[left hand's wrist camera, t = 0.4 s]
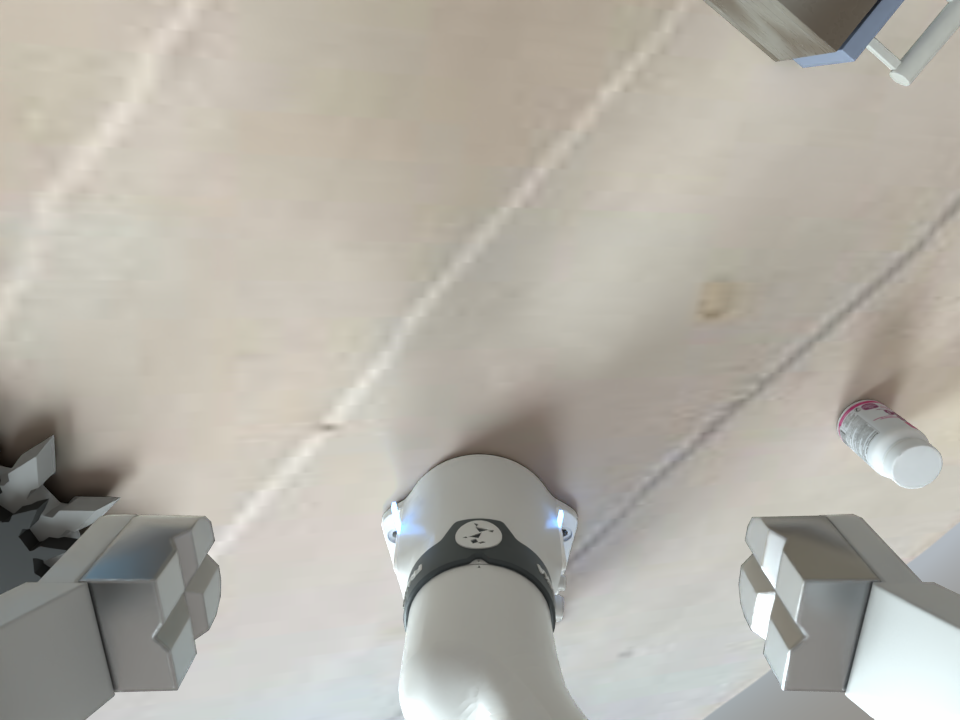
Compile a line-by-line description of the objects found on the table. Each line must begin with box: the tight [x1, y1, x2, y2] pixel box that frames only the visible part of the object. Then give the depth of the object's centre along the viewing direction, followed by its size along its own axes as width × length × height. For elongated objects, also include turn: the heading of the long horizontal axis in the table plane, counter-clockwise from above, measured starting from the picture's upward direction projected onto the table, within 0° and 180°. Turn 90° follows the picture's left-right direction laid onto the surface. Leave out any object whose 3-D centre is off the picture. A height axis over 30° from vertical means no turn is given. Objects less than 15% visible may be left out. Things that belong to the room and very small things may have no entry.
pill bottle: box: [837, 400, 943, 489], centre depth 58 cm, size 5×5×8 cm
